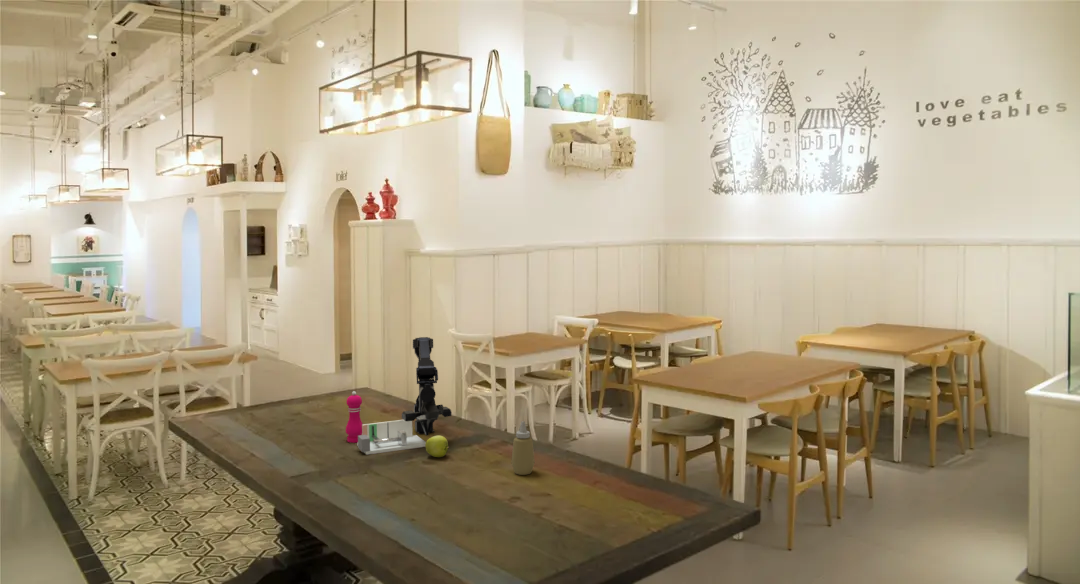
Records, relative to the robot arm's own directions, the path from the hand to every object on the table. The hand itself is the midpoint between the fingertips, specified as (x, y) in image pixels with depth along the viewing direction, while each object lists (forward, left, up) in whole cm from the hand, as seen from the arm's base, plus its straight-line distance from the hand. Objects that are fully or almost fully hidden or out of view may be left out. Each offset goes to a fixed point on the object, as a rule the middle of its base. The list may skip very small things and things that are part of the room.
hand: (427, 435), depth 303 cm
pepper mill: (+24, -18, -4) cm, 30 cm away
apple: (+2, +18, -4) cm, 18 cm away
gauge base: (+14, -4, -4) cm, 15 cm away
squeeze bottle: (-18, +49, -4) cm, 52 cm away
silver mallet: (+15, -3, -2) cm, 16 cm away
